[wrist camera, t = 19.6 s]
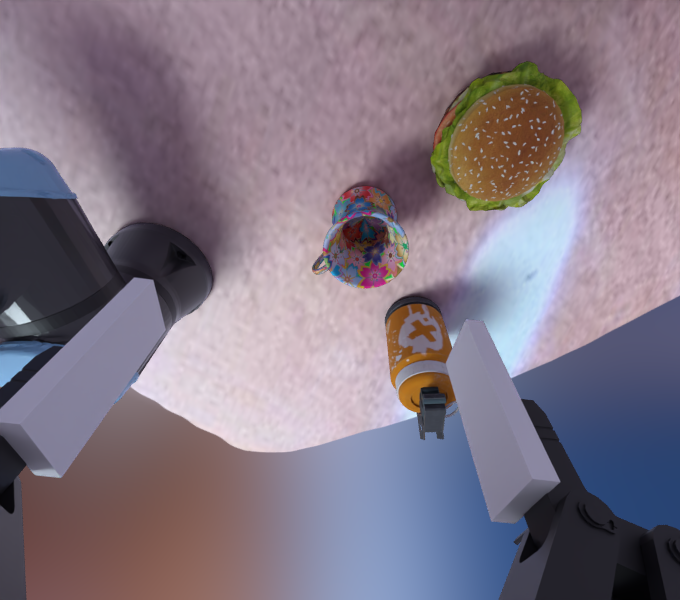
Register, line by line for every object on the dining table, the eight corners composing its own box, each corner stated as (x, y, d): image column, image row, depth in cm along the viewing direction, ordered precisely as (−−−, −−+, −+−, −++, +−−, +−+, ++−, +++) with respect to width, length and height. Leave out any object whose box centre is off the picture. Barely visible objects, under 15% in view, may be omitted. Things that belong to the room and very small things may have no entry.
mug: (378, 165, 41) (383, 194, 32) (410, 226, 45) (423, 266, 36) (299, 214, 45) (285, 252, 36) (336, 266, 49) (332, 309, 41)
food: (484, 219, 44) (505, 247, 38) (405, 152, 40) (414, 170, 33) (582, 126, 37) (629, 141, 31) (500, 32, 33) (535, 26, 26)
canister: (442, 292, 51) (480, 400, 35) (438, 344, 57) (469, 456, 41) (383, 296, 52) (394, 403, 36) (386, 347, 58) (396, 457, 42)
